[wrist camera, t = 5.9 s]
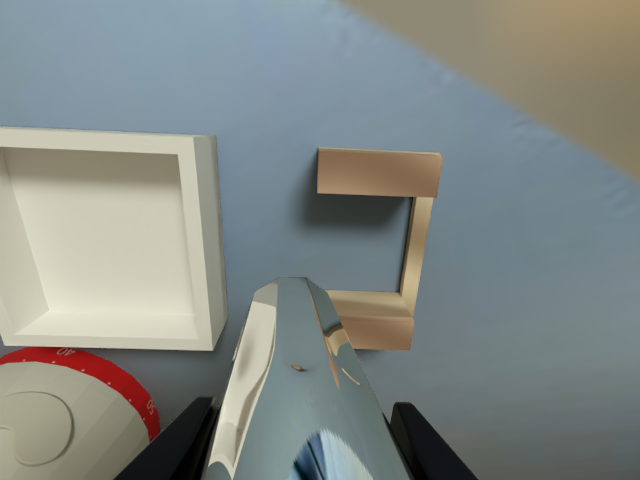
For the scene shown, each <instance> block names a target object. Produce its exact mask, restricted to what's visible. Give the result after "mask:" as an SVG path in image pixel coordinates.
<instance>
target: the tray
mask: <svg viewBox="0 0 640 480" xmlns="http://www.w3.org/2000/svg"><path fill="white" fill-rule="evenodd" d="M227 319H228V304H227V290H226V275H225V260H224V246H223V231H222V217H221V202H220V188H219V173H218V158H217V144H216V136H215V135H192V134H169V133H147V132H124V131H101V130H79V129H56V128H33V127H11V126H0V334H1V337H2V340H3V342H4V345H6V346H46V347H86V348H125V349H165V350H205V351H213V349H214V347H215V345H216V343H217V341H218V339H219V336H220V334H221V332H222V330H223V328H224V326H225V323H226V321H227Z"/></svg>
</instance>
